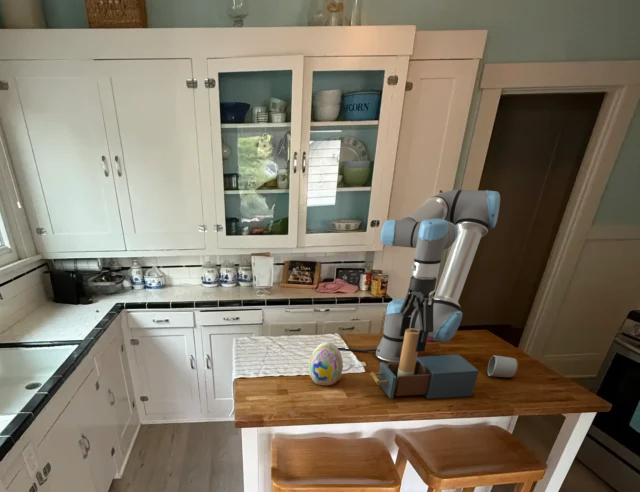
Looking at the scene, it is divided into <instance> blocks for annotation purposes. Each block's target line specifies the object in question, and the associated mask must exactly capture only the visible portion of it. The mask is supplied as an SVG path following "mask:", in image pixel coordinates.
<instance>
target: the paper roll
mask: <svg viewBox="0 0 640 492" xmlns="http://www.w3.org/2000/svg"><path fill="white" fill-rule="evenodd" d="M419 331H420V330H419V329H415V328H409V329H406V330H405V335H404V341H403V346H402V352H401V358H400V363H399V368H398V374H397V380H396V387H397V383H398V378H399V376H405V375H414V371H415V365H416V360H417V357H418V355H419V352H416V351H415V349H416V344H417V339H418V334H419Z"/></svg>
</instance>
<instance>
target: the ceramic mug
mask: <svg viewBox="0 0 640 492" xmlns="http://www.w3.org/2000/svg"><path fill="white" fill-rule="evenodd" d="M518 369H519V361H518V359H517V358H515V357H514V358H513V357H510V356H502V355H495V354H494V355H492V356H491V357H490V359H489V361H488V365H487V375H488V376H489V377H495V378H512V377H513V378H514V377H515V376H516V374H517V371H518Z"/></svg>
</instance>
